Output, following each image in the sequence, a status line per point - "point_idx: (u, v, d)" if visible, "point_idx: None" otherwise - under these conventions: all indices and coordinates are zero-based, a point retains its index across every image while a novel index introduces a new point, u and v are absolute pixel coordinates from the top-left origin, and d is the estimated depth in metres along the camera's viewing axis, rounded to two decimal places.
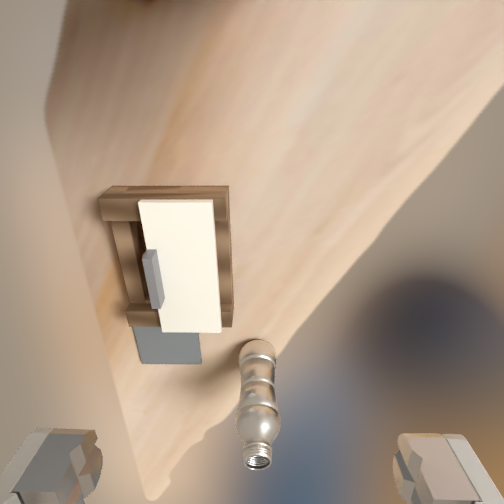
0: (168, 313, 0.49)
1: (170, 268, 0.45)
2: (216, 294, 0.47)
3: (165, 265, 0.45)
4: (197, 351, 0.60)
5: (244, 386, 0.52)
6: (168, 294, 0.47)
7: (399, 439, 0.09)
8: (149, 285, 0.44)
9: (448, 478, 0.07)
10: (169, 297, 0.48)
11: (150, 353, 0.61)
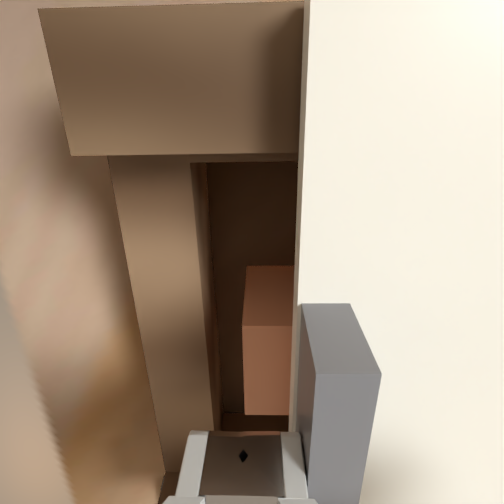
0: None
1: (389, 394, 0.10)
2: None
3: None
4: None
5: None
6: None
7: None
8: None
9: (264, 475, 0.07)
10: None
11: None
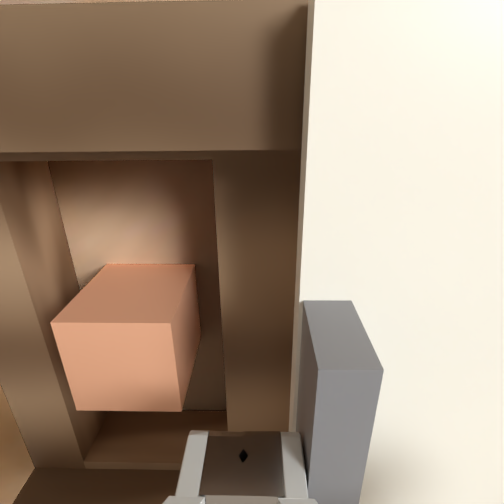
0: None
1: (390, 391, 0.10)
2: None
3: None
4: None
5: None
6: None
7: None
8: None
9: (264, 475, 0.07)
10: None
11: None
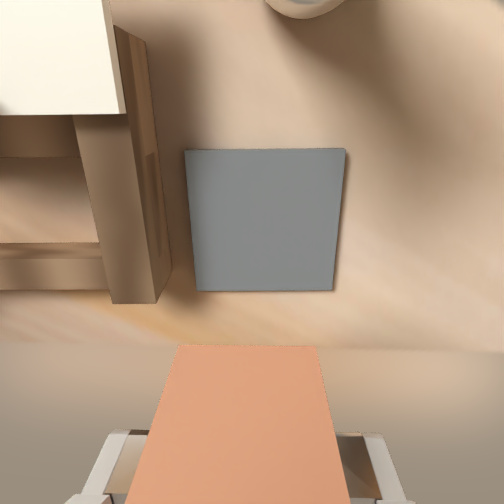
0: (38, 81, 0.16)
1: None
2: None
3: None
4: (298, 155, 0.23)
5: None
6: None
7: None
8: None
9: (356, 476, 0.07)
10: None
11: (298, 267, 0.26)
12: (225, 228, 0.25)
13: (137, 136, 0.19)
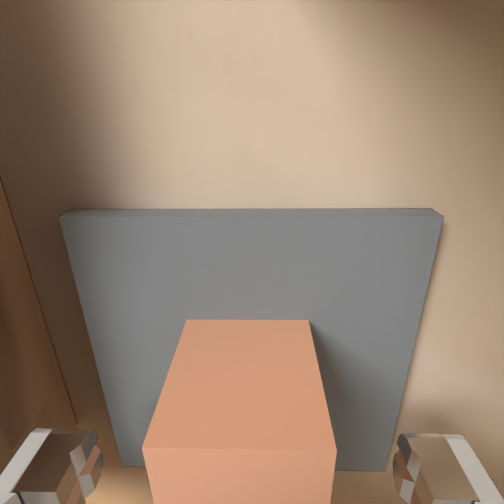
0: None
1: None
2: None
3: None
4: (328, 228, 0.10)
5: None
6: None
7: (399, 439, 0.09)
8: None
9: (448, 478, 0.07)
10: None
11: None
12: None
13: None
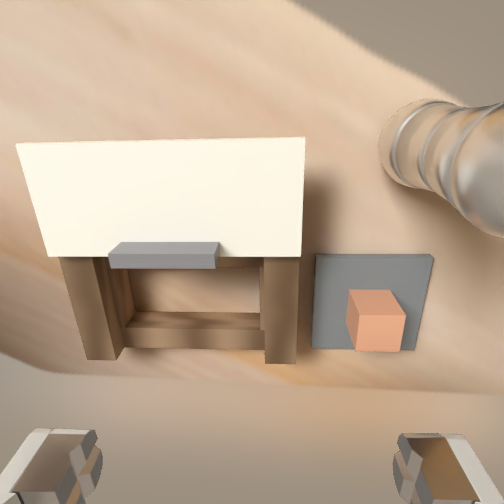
0: (254, 239, 0.26)
1: (155, 225, 0.26)
2: (202, 144, 0.24)
3: (149, 232, 0.27)
4: (398, 261, 0.32)
5: (436, 191, 0.21)
6: (210, 234, 0.26)
7: (399, 439, 0.09)
8: (162, 265, 0.25)
9: (448, 478, 0.07)
10: (216, 234, 0.26)
11: None
12: (339, 307, 0.35)
13: None
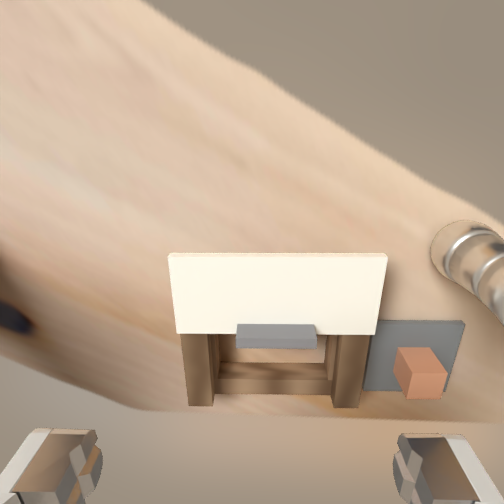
0: (340, 322, 0.35)
1: (266, 312, 0.34)
2: (311, 260, 0.32)
3: (260, 317, 0.35)
4: (438, 326, 0.41)
5: (485, 304, 0.30)
6: (307, 319, 0.35)
7: (399, 439, 0.09)
8: (276, 346, 0.33)
9: (448, 478, 0.07)
10: (312, 319, 0.35)
11: None
12: (388, 359, 0.43)
13: None
